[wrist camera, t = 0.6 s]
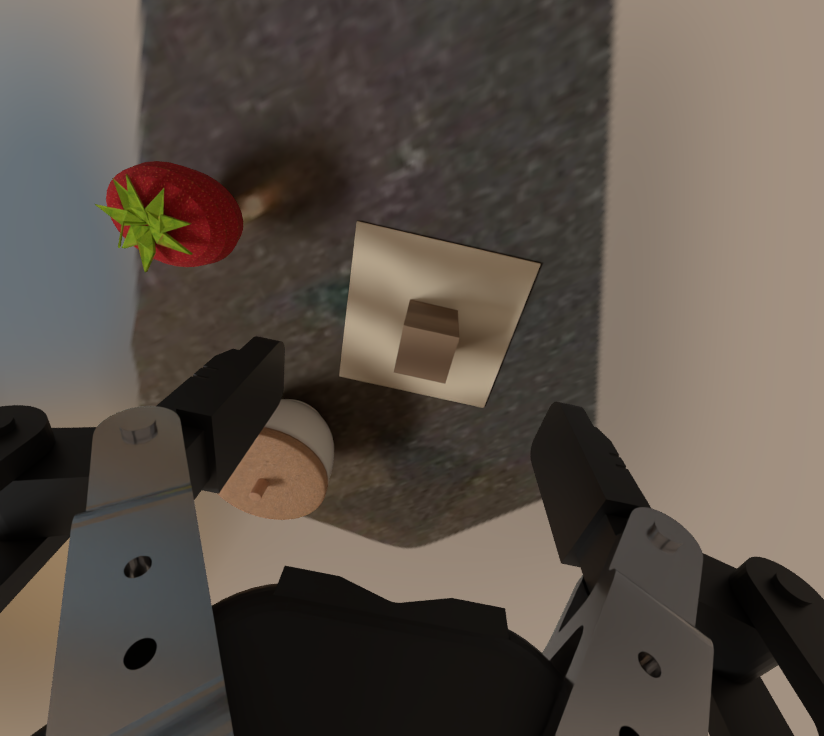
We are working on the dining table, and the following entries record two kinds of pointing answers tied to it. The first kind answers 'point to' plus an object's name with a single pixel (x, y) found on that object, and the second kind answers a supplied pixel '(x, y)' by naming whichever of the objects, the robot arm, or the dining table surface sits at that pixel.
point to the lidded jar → (284, 465)
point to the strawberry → (173, 214)
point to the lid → (430, 314)
